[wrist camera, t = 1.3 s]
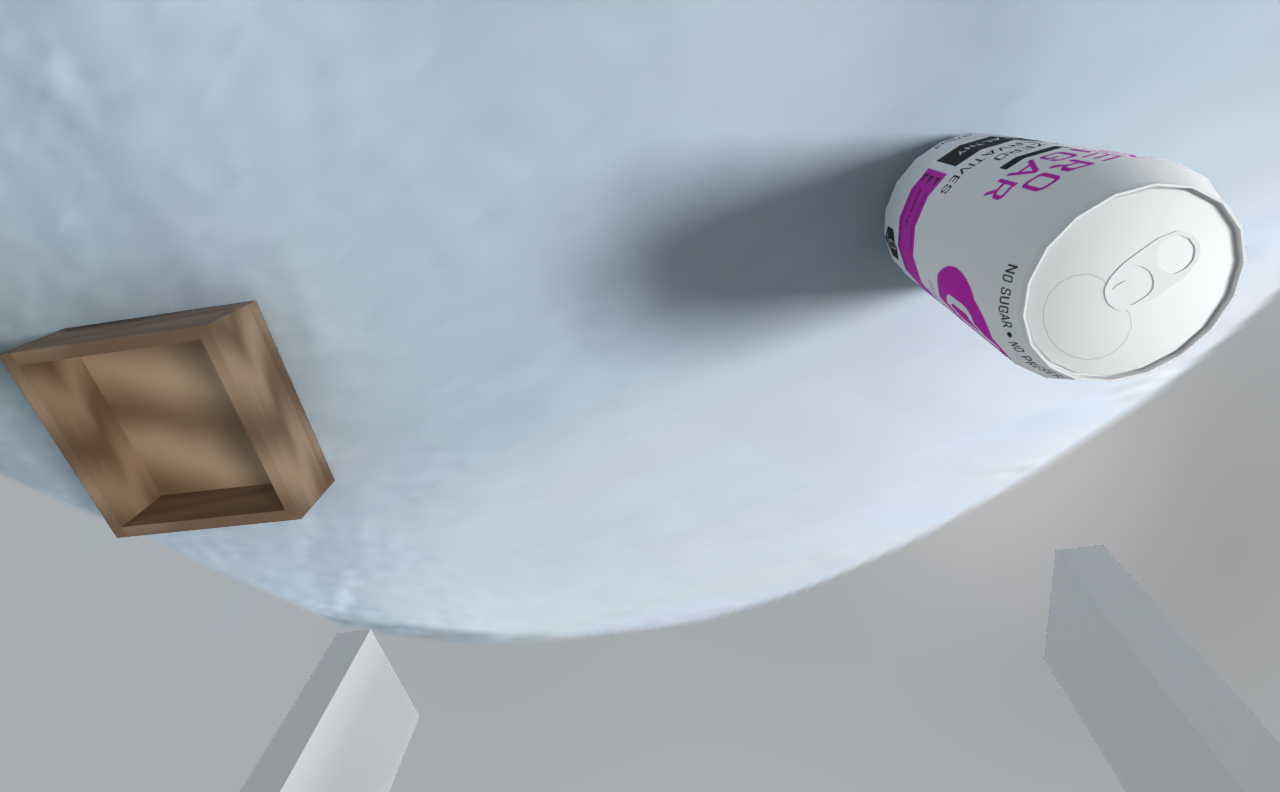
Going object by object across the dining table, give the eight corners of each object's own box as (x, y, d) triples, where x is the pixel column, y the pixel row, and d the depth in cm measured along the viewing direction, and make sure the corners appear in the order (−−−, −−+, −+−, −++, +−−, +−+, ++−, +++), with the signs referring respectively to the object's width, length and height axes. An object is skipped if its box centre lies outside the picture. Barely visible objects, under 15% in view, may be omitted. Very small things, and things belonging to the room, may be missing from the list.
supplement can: (938, 311, 37) (1085, 437, 24) (850, 213, 35) (957, 291, 22) (1063, 210, 34) (1311, 288, 21) (976, 96, 32) (1190, 102, 19)
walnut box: (65, 328, 41) (-2, 354, 37) (255, 300, 39) (207, 324, 35) (165, 498, 47) (117, 537, 43) (334, 480, 45) (301, 519, 41)
